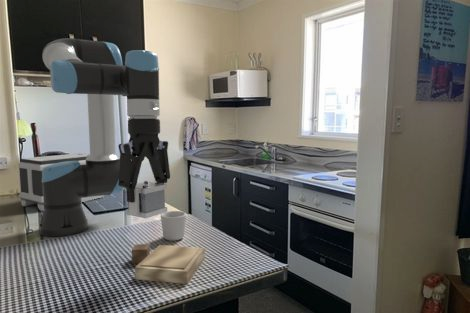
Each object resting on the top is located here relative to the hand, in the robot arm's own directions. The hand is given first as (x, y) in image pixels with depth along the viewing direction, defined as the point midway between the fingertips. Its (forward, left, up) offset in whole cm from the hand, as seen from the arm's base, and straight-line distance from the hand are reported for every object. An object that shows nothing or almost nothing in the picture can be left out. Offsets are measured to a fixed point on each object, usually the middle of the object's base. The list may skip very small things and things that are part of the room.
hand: (146, 211), depth 86 cm
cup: (-3, +26, -16) cm, 31 cm away
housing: (0, 0, 0) cm, 0 cm away
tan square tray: (+5, +3, -16) cm, 17 cm away
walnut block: (-5, +6, -16) cm, 18 cm away
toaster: (-69, +64, -16) cm, 95 cm away
